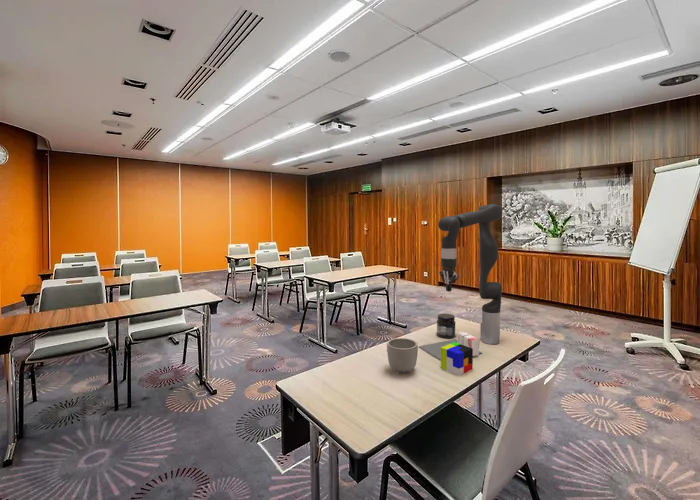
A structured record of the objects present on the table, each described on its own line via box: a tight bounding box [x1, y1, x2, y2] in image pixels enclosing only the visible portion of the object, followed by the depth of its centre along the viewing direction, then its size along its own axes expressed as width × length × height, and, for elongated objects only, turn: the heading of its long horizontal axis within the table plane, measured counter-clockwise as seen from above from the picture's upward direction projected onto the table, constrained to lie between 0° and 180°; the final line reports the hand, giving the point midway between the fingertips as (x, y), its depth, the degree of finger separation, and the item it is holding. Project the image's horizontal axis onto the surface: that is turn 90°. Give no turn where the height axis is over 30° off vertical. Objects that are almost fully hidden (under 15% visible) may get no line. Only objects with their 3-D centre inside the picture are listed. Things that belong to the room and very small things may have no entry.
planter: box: [386, 337, 419, 375], centre depth 156 cm, size 14×14×13 cm
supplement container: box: [436, 313, 457, 339], centre depth 199 cm, size 10×10×12 cm
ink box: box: [456, 331, 480, 357], centre depth 174 cm, size 9×5×12 cm
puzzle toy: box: [440, 342, 474, 377], centre depth 157 cm, size 10×10×10 cm
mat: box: [418, 338, 483, 362], centre depth 178 cm, size 21×24×1 cm
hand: (448, 291), depth 173 cm, fingers closed
